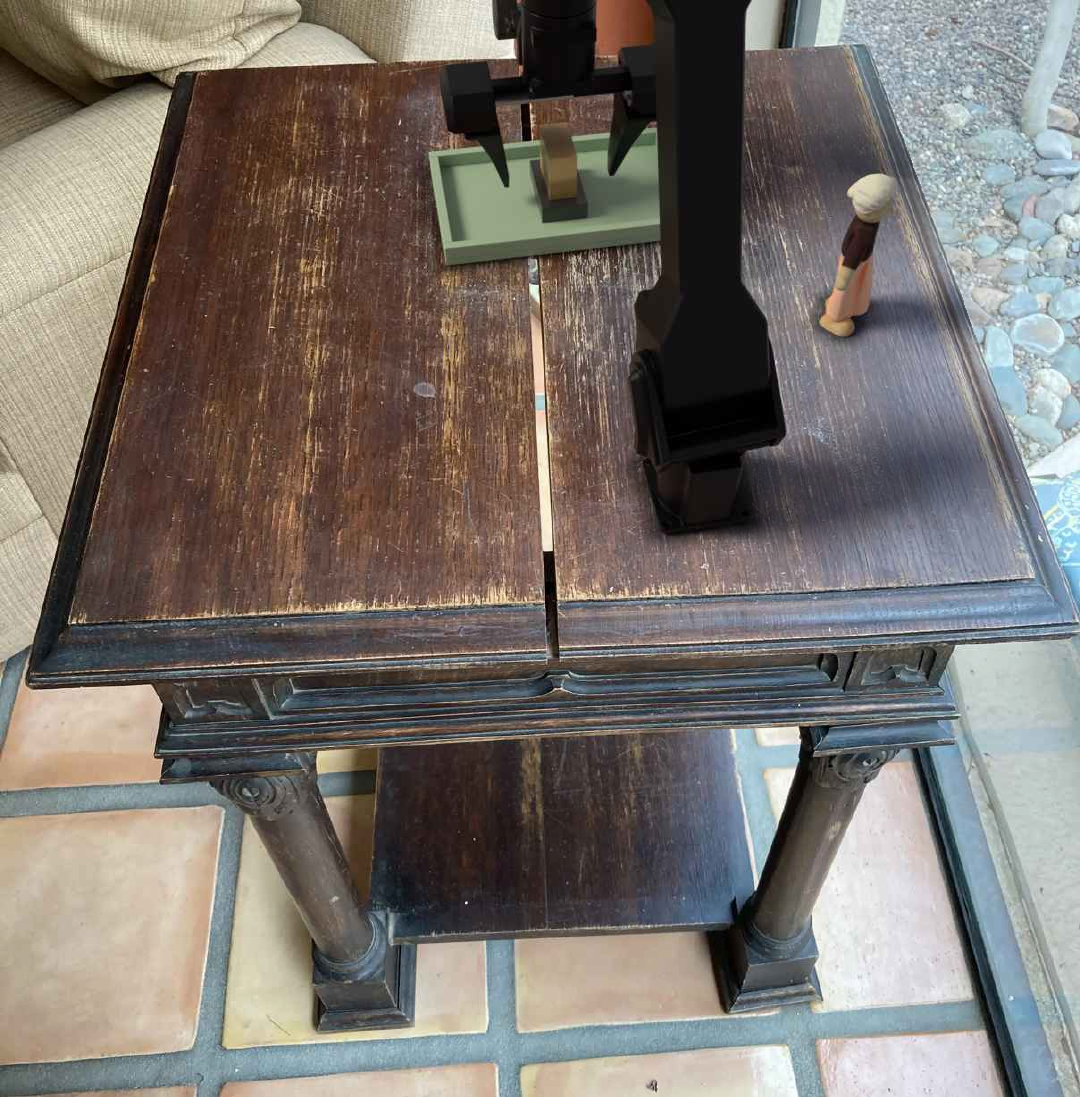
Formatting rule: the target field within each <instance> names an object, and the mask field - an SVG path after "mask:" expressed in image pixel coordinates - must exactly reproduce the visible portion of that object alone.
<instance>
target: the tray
mask: <svg viewBox="0 0 1080 1097" xmlns="http://www.w3.org/2000/svg"><path fill="white" fill-rule="evenodd" d="M571 137H572V140H573V144H574V147H575V150H576V154H577V168H578V172H579V175H580V179H581V182H582V185H583V189H584V192H585V195H586V199H587V202H588V218H582V219H574V220H565V221H556V222H548V223H542V220H541V216H540V212H539V208H538V204H537V200H536V196H535V192H534V188H533V184H532V180H531V176H530V160H538V159H540V139H537V140H536V139H535V140H528V141H518V142H507V143H503V146H504V151H505V156H506V161H507V166H508V171H509V187H508V188H505V187H504V185H503V183H502V181H501V179H500V177H499V175H498V172H497V170H496V168H495V166H494V164H493V162H492V160H491V159H490V157H489V156H488V154H487V153H486V151H485V150H484V149H483V147H482V146H481V145H480V146H472V147H461V148H453V149H452V148H451V149H444V150H437V151H436V150H435V151H428V158H429V168H430V175H431V180H432V186H433V194H434V199H435V205H436V212H437V219H438V224H439V230H440V236H441V243H442V249H443V255H444V260H445V266H455V265H464V264H471V263H472V264H473V263H480V262H481V263H482V262H490V261H498V260H507V259H515V258H525V257H533V256H542V255H550V254H558V253H566V252H567V253H568V252H575V251H583V250H593V249H601V248H609V247H617V246H618V247H619V246H627V245H636V244H645V243H652V242H661V240H660V209H659V178H658V146H657V126H656V127H648V128H647V127H646V128H645V130H644V131H643V132H642V133H641V135H640V136H639V137H638V139H637V140H636V141H635V142H634V144H633V145H632V147H631V148H630V150H629V152H628V153H627V155H626V157H625V158H624V160H623V162H622V163H621V165H620V167H619V168H618V170H617V172H616V173H615V175H614V176H609V173H608V169H607V154H608V145H609V138H610V132H601V133H591V134H583V135H573V136H571Z"/></svg>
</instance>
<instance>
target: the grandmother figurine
mask: <svg viewBox="0 0 1080 1097" xmlns="http://www.w3.org/2000/svg"><path fill="white" fill-rule="evenodd" d="M898 186H899V184H898V182H897V180H896V179H895V178H894V177H891V176H889V175H887V174H883V173H873V174H868V175H866V176H864V177H862V178H859V179H858V180H857V181H856V182H854V183H853V184H852V185H851V186H850V187H849V189H848V190H847V193H846V194H847V197H848V198H849V199H852V206H853V207H854V211H855V215H854V217H853V218H852V220H851V221H850V224H849V226H848V228H847V230H846V233H845V235H844V236H843V240H842V242H841V249H840V251H841V253H840V255H839V259H838V260H839V262H838V266H837V267H838V268H837V275H836V279H835V282H834V288H833V291H832V294H831V295H830V296H829V297H828V298H827V299H826V300H825V303H824V307H825V309H826V310H825V313H824V314H823V315H822V316H821V318H820V319H819V325H820V326H821V327H822V328H823V329H825V330H826V331H828V332H830V333H832V334H834V335H835V336H838V337H843V338H844V337H848V336H850V335H852V333H853V332H854V331H855V324H854V321H853V320H852V319H851V318H852V317H853V316H862V315H864V314H865V313H867V311H868V310H869V305H870V301H871V295H872V289H873V288H872V287H873V272H874V248H875V244H876V239H877V235H878V232H879V229H880V224H881V221H883V220H884V219H885V218H886V217H887V216H888V215H889V213H890V212H891V209H892V206H893V199H892V197H894V194H896V193H897V190H898Z"/></svg>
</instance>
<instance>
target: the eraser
mask: <svg viewBox="0 0 1080 1097" xmlns="http://www.w3.org/2000/svg"><path fill="white" fill-rule="evenodd" d="M572 137H573V136H572V134H571V131H570V127H569V124H568V122H567V121H564V122H555V123H547V124H539V140H540V159H538V160H530V176H531V180H532V184H533V188H534V192H535V196H536V200H537V204H538V208H539V212H540V216H541V220H542V223H548V222H556V221H565V220H574V219H582V218H588V202H587V199H586V195H585V192H584V189H583V185H582V182H581V179H580V175H579V172H578V168H577V154H576V150H575V147H574V144H573V140H572Z"/></svg>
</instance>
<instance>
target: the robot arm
mask: <svg viewBox="0 0 1080 1097" xmlns="http://www.w3.org/2000/svg"><path fill="white" fill-rule="evenodd" d="M752 1H753V0H645V2H646V4H647V5H648V6H649V8H650V9H651V12H652V21H653V22H652V23H653V43H652V44H643V45H642V44H641V45H633V46H631V45H630V46H623V47H622V46H621V47H620V48H619V49H618V52H617V63H616V64H617V65H612V66H602V67H596V43H597V38H598V28H597V11H598V10H597V8H598V7H597V6H598V0H520V2H518V0H491V5H492V6H491V7H492V23H493V32H494V36H495V38H496V40H497V41H507V40H516V41H515V42H516V60H517V63H518V66H521V67H522V75H520V76H519V75H518V76H508V77H499V78H492V77H491V73H490V68H489V64H488V61H487V60H482V61H472V62H462V63H452V64H445V65H444V66H443V68H442V70H440V73H439V76H438V78H439V86H440V97H441V102H442V106H443V107H442V108H443V112H444V119H445V124H446V129H447V132H449V133H452V134H454V135H461V134H462V135H463V137H464V139H465V140H467V141H469V142H475V141H477V142H478V144H479V145H480V146H482V147H483V149H484V150H485V151H486V153H487V154H488V156H489V157H490V159H491V160H492V162H493V164H494V166H495V168H496V170H497V172H498V175H499V177H500V179H501V181H502V183H503V185H504V187H505V188H508V187H509V171H508V166H507V161H506V156H505V151H504V146H503V144H504V141H503V136H502V132H501V127H500V122H499V118H498V113H497V108H498V107H506V106H507V107H508V106H517V105H526V104H527V105H528V104H537V103H545V102H547V103H548V102H555V101H565V100H566V101H567V100H573V99H574V98H581V97H591V96H602V95H611V94H613V110H612V116H611V117H612V118H611V124H610V132H609V133H610V138H609V145H608V154H607V169H608V173H609V176H614V175H615V173H616V172H617V170H618V168H619V167H620V165H621V163H622V162H623V160H624V158H625V157H626V155H627V153H628V152H629V150H630V148H631V147H632V145H633V144H634V142H635V141H636V140H637V139H638V137H639V136H640V135H641V133H642V132H643V131H644V130H645V129H647V127H648V126H649V125H650V123H654V122H656V127H657V146H658V178H659V209H660V240H661V241H660V264H661V265H660V275H659V277H658V279H657V280H656V282H655V284H654V286H653V287H652V288H649V289H645V290H643V289H642V290H640V291H639V292H638V293H637V296H636V299H635V302H634V305H633V308H634V319H635V331H636V332H635V337H636V338H635V346H634V347H635V351H634V352H633V353H632V354H631V356H630V357H631V358H630V362H629V365H628V369H629V375H628V377H627V385H628V391H629V397H630V398H629V399H630V405H631V415H632V420H633V424H634V442H633V449H634V451H635V453H636V454H637V455H639V456H641V457H644V459H643V460H642V462H641V468H642V473H643V477H644V480H645V483H646V487H647V491H648V494H649V497H650V501H651V505H652V509H653V513H654V517H655V520H656V523H657V526H658V530H659V532H661V533H663V534H674V533H675V534H676V533H681V532H688V531H696V530H703V529H710V528H711V529H712V528H716V527H725V526H733V525H739V524H747V523H749V522H750V521H751V520H752V517H753V512H752V509H751V506H750V503H749V500H748V497H747V495H746V492H745V491H746V490H745V489H744V486H743V483H742V479H741V478H742V473H743V468H744V464H745V459H746V455H747V452H749V451H753V450H757V449H762V448H766V447H770V448H772V447H773V448H774V447H777V446H779V445H780V444H781V442H783V440H784V439H785V438H786V436H787V426H786V420H785V414H784V409H783V408H784V407H783V402H782V397H781V390H780V384H779V378H778V373H777V366H776V360H775V355H774V348H773V345H772V341H771V339H770V337H769V322H768V319H767V317H766V315H765V314H764V312H763V311H762V310H761V308H760V306H759V305H758V303H757V302H756V301H755V299H754V297H753V296H752V294H751V292H750V291H749V290H748V288H747V287H746V285H745V284H744V282H743V272H742V271H743V270H742V269H743V267H742V266H743V207H744V206H743V205H744V204H743V203H744V155H745V154H744V152H745V150H744V148H745V94H746V93H745V89H746V88H745V85H746V83H745V82H746V30H747V29H746V28H747V26H746V24H747V12H748V8H749V6H750V5H751V3H752ZM744 515H745V516H744Z"/></svg>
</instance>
